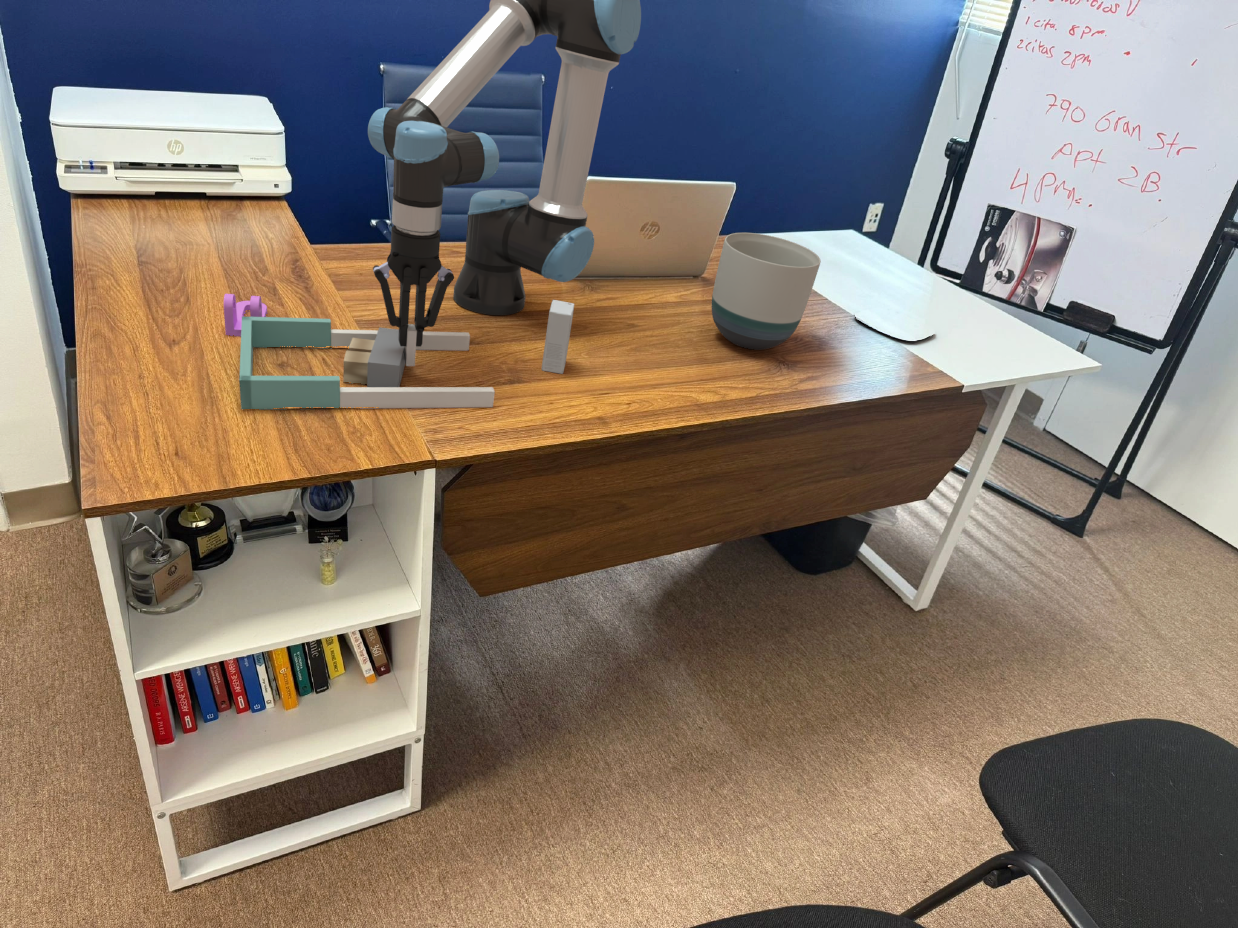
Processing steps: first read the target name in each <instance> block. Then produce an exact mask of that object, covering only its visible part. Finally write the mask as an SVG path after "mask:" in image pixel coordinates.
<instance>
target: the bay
mask: <svg viewBox="0 0 1238 928" xmlns="http://www.w3.org/2000/svg"><path fill="white" fill-rule="evenodd" d="M331 329H332V320H331V318H317V317H315V318H313V317H310V318H309V317H308V318H307V317H279V316H278V317H277V316H276V317H275V316H274V317H273V316H266V317H251V316H245V315H244V316H242V327H241V336H240V354H239V355H240V358H239V376H238V377H239V378H238V379H239V380H238V381H239V394H240V396H239V397H240V410H242V409H243V410H242V411H244V409H259V410H274V409H273V408H283V407H284V408H285V407H302V408H306V407H309V408H310V407H311V408H313V407H321V408H322V407H323V408H326V407H334V408H339V407H340V387H341V378H340V376H339V375H253V373H254V372H253V369H254V368H253V365H254V364H253V363H254V348H267V347H280V346H281V347H282V346H283V347H284V346H285V347H287V346H288V347H289V346H290V347H291V346H293V347H295V346H296V347H306V346H307V347H308V346H312V347H313V346H314V347H326V346H331Z"/></svg>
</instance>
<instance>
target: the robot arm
mask: <svg viewBox="0 0 1238 928" xmlns="http://www.w3.org/2000/svg"><path fill="white" fill-rule="evenodd" d="M488 5H489V9H488V11H487V12H486V14H484V15H483V16H482V18H481V19H480V20H479V21H478V22H477V23H476V24H475V25H474V27H473V28H471V29H470V31H469V32H468V33H467V34H465V36H463V38H462V39H461V41H460V42H458V44H457V45H456V46H455V47H453V49H452V50H451V51H450V52H449V53H448V55H447V56H446V57H445V58H444V59H443V60H442V61H441V62H440V63H439V64H438V65H437V66H436V67H435V68H434V69H433V70H432V72H431V73H430V74H429V75H428V76H427V77H426V78H425V79H424V80H423V81H422V83H421V84H420V85H418V87H417V88H416V89H415V90H414V91H413V92H412V93H411V94H410V95H409V96H408V97H407V98H406V100H405V101H404V102H403V103H402V104H401V105H400V106H399V107H398V108H397V109H396V108H394V107H387V106H386V107H382V108H378V109H377V110H375V111H374V112H373V114H372V115H371V117H370V119H369V122H368V124H367V125H368V126H367V136H368V140H369V143H370V145H371V146H372V148H373V149H374V150H376V152H378V153H380V154H382V155H384V156H386V157H387V158H389V159H391V160H393V180H392V181H393V187H392V189H393V190H392V191H393V192H392V211H391V223H392V224H393V225H392V226H391V232H390V233H391V236H390V252H389V255H388V256H387V259H386V262H384V263H382V264H381V265H377V264H376V265H373V267H372V271H373V274H374V277H375V278H376V280H377V281H378V283H379V285H380V289H381V292H382V293H381V294H382V297H383V300H384V301H383V302H384V305H385V310H386V314H387V318H388V323H389V325H390V326H392V327H397V328H398V330H399V339H398V340H399V343H400V346H404V361H405V366H406V367H415V366H416V353H417V350H416V346H421V345H422V340H423V331H424V332H425V329H426V328H428V327H429V328H432V327H435V326H436V322H437V319H438V316H439V313H440V310H441V307H442V304H443V302H444V298H445V295H446V292H447V289H448V287H449V286H450V285H451V284H452V282H453V281H454V279H455V276H454V274H453V271H452V270H451V269H450V268H446V267H445V266H443V265H442V262H441V259H440V248H441V247H440V243H441V232H440V231H439V230H440V229H441V227H442V215H443V214H442V213H443V200H444V189H445V188H447V187H452V186H458V185H465V184H472V183H473V184H476V183H479V182H481V181H485V180H488V179H491V178H492V177H493V176H494V175H495V173H496V172H497V170H498V169H499V162H500V152H499V149H498V146H497V144H496V142H495V140H494V139H493V138H492V137H491V136H490V135H488V134H487V133H484V132H476V131H469V132H462V131H458V130H455V129H453V128H450V127H449V126H450V124H451V123H452V122H453V121H454V120H455V119H456V118H457V117H458V116H459V115H460V113H461V112H462V111H463V110H464V109H465V108H466V107H467V106H468V105H469V103H470V102H471V101H472V100H473V99H474V98H475V97H476V96H477V94H479V92H480V91H481V90H482V89H483V88H484V87H485V85H487V83H488V82H489V81H490V80H491V79H492V78H493V77H494V76H495V75H496V73H498V72H499V70H500V69H501V68H502V67H503V66H504V65H505V63H506V62H508V60H509V59H511V57H512V56H513V55H514V53H516V51H517V50H518V49H519V48H520V47H526V46H529V45H530V44H532V43H533V42H534V41H535V39H536V38H537V37H539V36H542V35H552V36H555V37H556V38H557V39H556V44H555V50H556V52H557V53H558V55H559V56H560V59H561V64H560V69H559V76H558V82H557V86H556V87H557V88H556V92H555V98H554V104H553V109H552V115H551V120H550V121H551V122H550V127H549V131H548V132H549V133H548V137H547V138H548V139H547V145H546V149H545V153H544V154H545V155H544V161H543V166H542V172H541V177H540V183H539V189H538V194H537V195H536V196H534V197H533V198H531V200H530V198H529V196H528V195H527V194H526V193H524V192H519V191H514V190H506V189H490V190H488V189H487V190H481V191H478V192H475V193H474V194H473V195H472V196H471V198H470V201H469V209H468V211H467V226H466V239H465V241H466V242H465V256H464V264H463V266H462V267H461V271H460V273H459V274H458V277H457V279H456V281H455V284H454V287H453V300H454V302H455V303H456V304H457V305H459V306H460V307H462V308H464V309H465V310H467V311H468V310H469V311H471V312H474V313H478V314H483V315H489V316H507V315H514V314H518V313H519V312H521V311H523V310H524V308H525V306H526V291H525V287H524V282H523V277H522V270H521V269H522V268H523V269H525V270H528V271H530V272H533V273H535V274H537V275H540V276H542V277H543V278H545V279H548V280H549V279H550V280H553V281H556V282H559V283H566V282H567V283H568V282H570V281H572V280H574V279H575V278H576V277H578V276H579V275H580V274H581V272H582V271H584V269H585V268H586V266H587V265H588V263H589V261H590V259H591V257H592V254H593V251H594V248H595V247H594V245H595V238H594V236H595V235H594V233H593V231H592V230H591V229H590V228H589V227H587V222H588V221H587V220H588V216H589V215H588V212H587V210H586V209H585V208H584V206H583V201H584V196H585V190H586V186H587V181H588V177H589V171H590V167H591V162H592V157H593V151H594V146H595V141H596V137H597V131H598V127H599V121H600V117H601V113H602V112H601V111H602V106H603V102H604V97H605V96H604V95H605V92H606V87H607V81H608V77H609V73H610V71H612V70H613V69H615V68H616V67H617V66H618V65H619V64H620V60H621V55H624V54H627V53H628V52H630V51H631V50H632V49H633V48H634V46H635V44H634V43H636V42H637V40H638V38H639V34H640V30H641V22H642V6H641V1H640V0H490V1H489V4H488ZM390 271H391V272H392V273H393V274H394V276H395V277H396V279H397V280H398V282H399V284H400V285H399V286H400V288H399V308H398V310H399V311H398V316H397V315H396V311H395V306H394V303H393V302H394V301H393V298H392V297H393V296H392V293H391V289H390V284H389V281H388V279H389V278H390ZM436 275H437V281H436V284H435V286H434V290H433V293H432V296H431V299H430V303H429V305H428V308H427V311H426V298H427V294H426V293H427V287H428V284H429V283H430V282H431V281H432V280H433V278H434V277H435V276H436ZM414 285H415V300H414V301H415V302H414V303H415V306H414V318H413V319H414V321H413V322H414V323H412V324H409V316H410V314H409V313H410V300H411V299H410V298H411V289H412V286H414ZM425 312H426V314H425Z"/></svg>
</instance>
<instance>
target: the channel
mask: <svg viewBox="0 0 1238 928" xmlns="http://www.w3.org/2000/svg"><path fill="white" fill-rule="evenodd" d="M378 330H379V329H378ZM378 330H371V329H338V328H337V329H335V328H334V329H332V328H331V346H332V347H333V346H334V347H335V346H336V347H337V346H347V347H348V346H350V343H351V341H352V338H360V339H368V340H375V339H376V336H377V333H378ZM470 340H471V334H470V333H469V332H465V331H463V332H461V331H460V332H459V331H458V332H457V331H456V332H455V331H425V330H424V331H423V340H422V345H421V346H416V351H417V350H418V351H469V350H470ZM495 392H496V391H495V389H494V387H493V386H486V387H485V386H480V387H479V386H469V387H467V386H465V387H464V386H459V387H458V386H457V387H456V386H452V387H451V386H449V387H448V386H446V387H445V386H441V387H439V386H435V387H434V386H433V387H432V386H429V387H427V386H421V387H420V386H418V387H416V386H414V387H413V386H409V387H408V386H405V387H401V386H400V387H367V386H366V387H365V386H364V387H362V386H357V387H356V386H355V387H354V386H350V387H346V386H343V387H341V386H340V408H341V407H342V408H343V407H344V408H345V407H346V408H348V407H351V408H354V407H355V408H356V407H362V408H361V409H364V408H363V407H375V408H374V409H377V408H376V407H379V408H378V409H433V408H435V409H436V408H437V409H438V408H439V409H440V408H441V409H442V408H446V409H447V408H448V409H450V408H456V409H457V408H460V409H461V408H494V401H495V394H496V393H495Z"/></svg>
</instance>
